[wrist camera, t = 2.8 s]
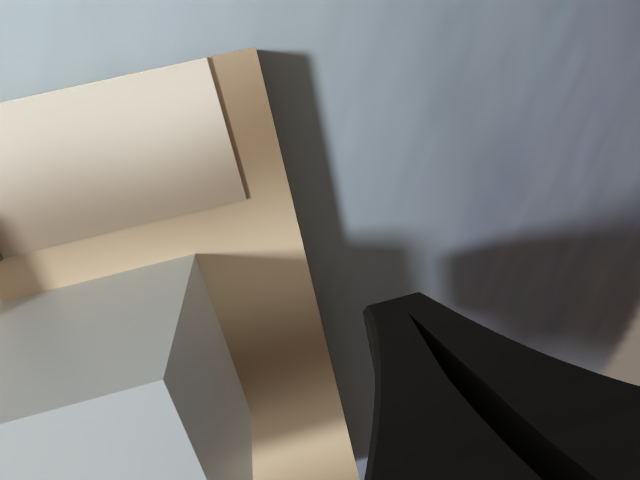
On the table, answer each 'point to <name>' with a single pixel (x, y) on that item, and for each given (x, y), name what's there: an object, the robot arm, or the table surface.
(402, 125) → the table surface
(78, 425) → the light grey block
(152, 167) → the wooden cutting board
